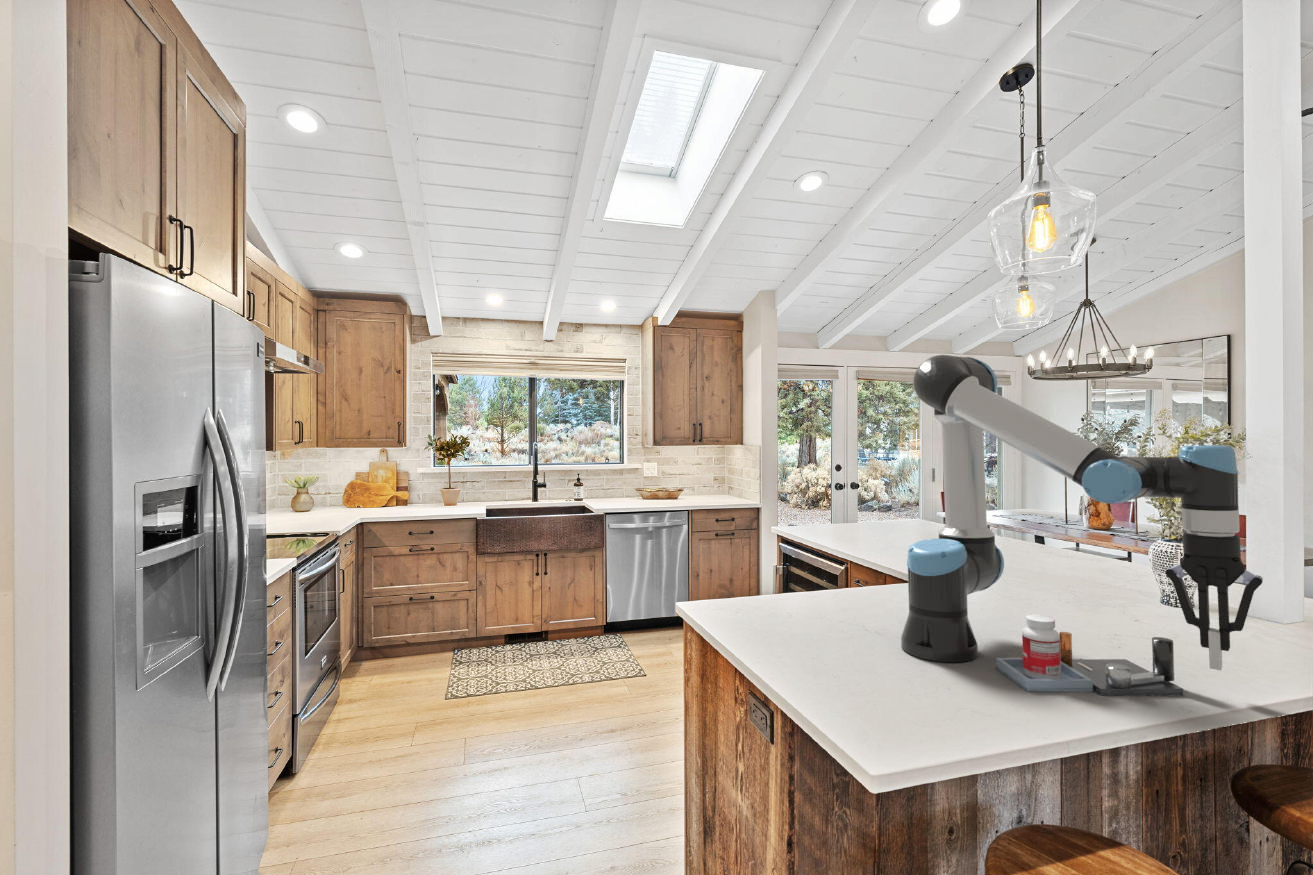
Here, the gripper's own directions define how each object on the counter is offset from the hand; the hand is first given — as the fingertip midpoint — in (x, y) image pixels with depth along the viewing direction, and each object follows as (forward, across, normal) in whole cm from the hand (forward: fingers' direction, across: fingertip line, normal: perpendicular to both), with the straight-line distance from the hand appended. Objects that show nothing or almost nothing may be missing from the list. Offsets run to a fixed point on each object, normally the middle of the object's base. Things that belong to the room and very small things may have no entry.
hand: (1216, 667), depth 108 cm
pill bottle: (+4, +24, +12) cm, 27 cm away
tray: (+5, +24, +12) cm, 27 cm away
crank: (+3, +10, +5) cm, 12 cm away
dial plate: (+5, +14, +3) cm, 15 cm away
